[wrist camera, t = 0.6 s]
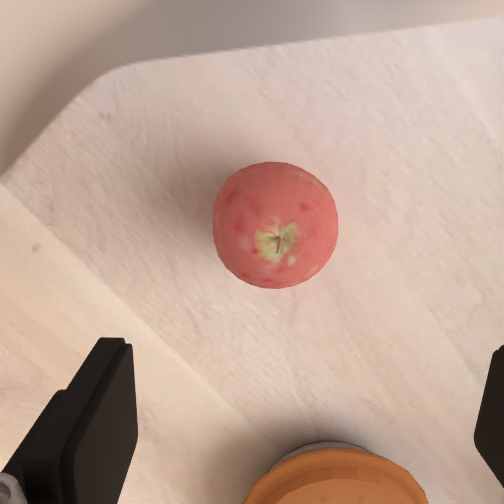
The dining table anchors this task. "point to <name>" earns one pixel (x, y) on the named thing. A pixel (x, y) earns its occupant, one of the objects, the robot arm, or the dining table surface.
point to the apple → (274, 225)
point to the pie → (335, 478)
